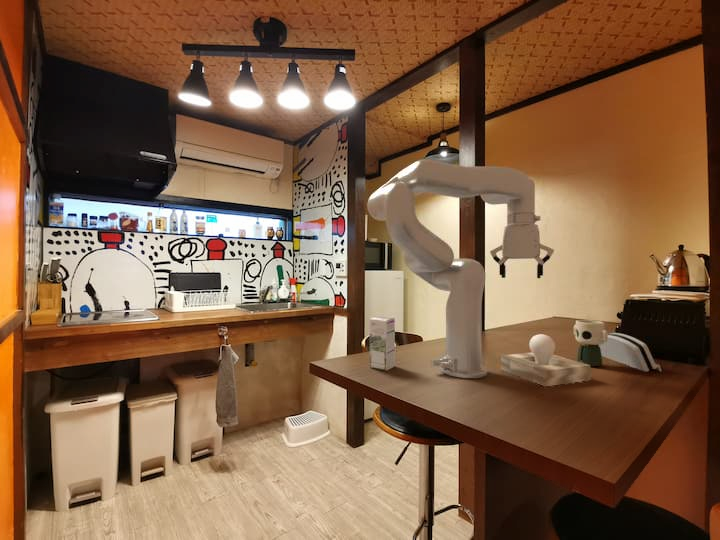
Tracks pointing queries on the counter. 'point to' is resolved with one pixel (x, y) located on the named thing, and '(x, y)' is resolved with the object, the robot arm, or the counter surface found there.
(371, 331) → the syrup box
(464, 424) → the counter surface
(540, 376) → the holder
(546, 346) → the lightbulb
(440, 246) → the robot arm
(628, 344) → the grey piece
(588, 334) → the character mug
